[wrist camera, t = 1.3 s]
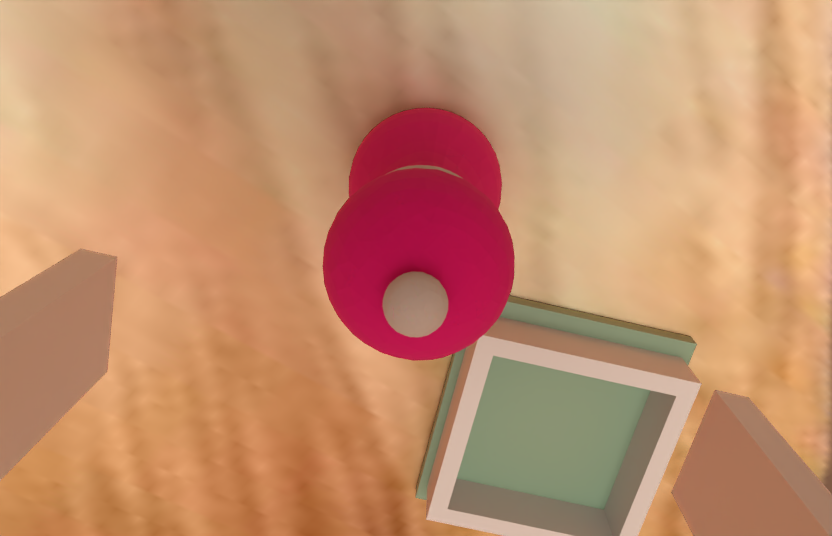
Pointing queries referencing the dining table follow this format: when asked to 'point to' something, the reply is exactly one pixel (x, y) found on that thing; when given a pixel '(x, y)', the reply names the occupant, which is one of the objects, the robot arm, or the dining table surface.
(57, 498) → the dining table surface
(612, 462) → the deck socket
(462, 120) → the pepper mill
